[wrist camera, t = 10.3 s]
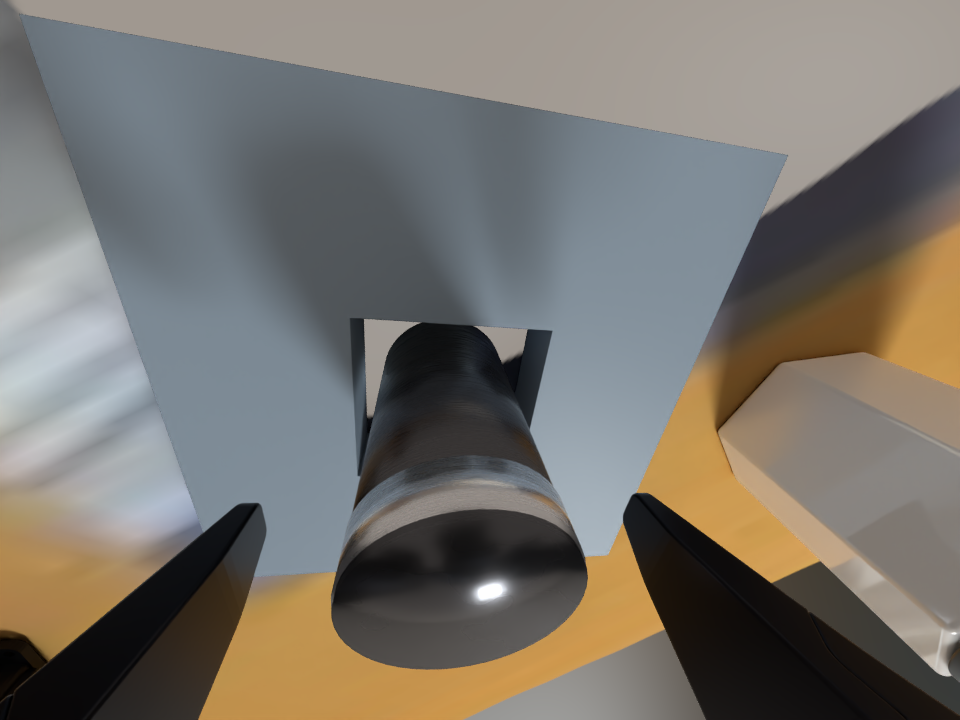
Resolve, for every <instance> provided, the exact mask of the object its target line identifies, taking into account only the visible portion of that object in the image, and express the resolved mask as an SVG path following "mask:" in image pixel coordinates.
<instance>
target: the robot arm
mask: <svg viewBox="0 0 960 720" xmlns="http://www.w3.org/2000/svg"><path fill="white" fill-rule="evenodd" d="M623 523H624V526H625V529H626V532H627V535H628V538H629V541H630V543H631V546H632V549H633V552H634V555H635V558H636V561H637V563H638V566H639V569H640V572H641V575H642V577H643V580H644V583H645V585H646V587H647V590H648V592H649V594H650V597H651V599H652V601H653V603H654V606H655V608H656V610H657V612H658V614H659V617H660V619H661V621H662V623H663V626H664V628H665V630H666V632H667V634H668V636H669V639H670V641H671V643H672V645H673V648H674V650H675V652H676V654H677V657H678V659H679V661H680V663H681V665H682V668H683V670H684V672H685V674H686V676H687V679H688V681H689V683H690V685H691V687H692V690H693V692H694V694H695V696H696V699H697V701H698V703H699V705H700V707H701V710H702V712H703V714H704V716H705V719H706V720H960V715H958V714H957V713H955V712H954V711H952V710H951V709H949V708H948V707H946V706H944V705H943V704H941V703H940V702H939V701H937V700H936V699H934V698H933V697H931V696H930V695H928V694H927V693H925V692H924V691H922V690H921V689H919V688H918V687H916V686H915V685H913V684H912V683H910V682H909V681H908V680H906V679H905V678H903V677H902V676H900V675H899V674H897V673H896V672H894V671H893V670H891V669H890V668H888V667H887V666H886V665H884V664H883V663H881V662H880V661H878V660H877V659H875V658H874V657H872V656H871V655H869V654H868V653H867V652H865V651H864V650H862V649H861V648H860V647H858V646H857V645H855V644H854V643H852V642H851V641H850V640H848V639H847V638H846V637H844V636H843V635H841V634H840V633H839V632H837V631H836V630H834V629H833V628H831V627H830V626H829V625H828V624H826V623H825V622H823V621H822V620H821V619H820V618H818V617H817V616H815V615H814V614H813V613H811V612H808V611H807V609H806V608H804V607H803V606H802V605H800V604H799V603H798V602H796V601H795V600H794V599H792V598H791V597H789V596H788V595H787V594H785V593H784V592H782V591H781V590H780V589H779V588H777V587H776V586H774V585H773V584H772V583H770V582H769V581H768V580H766V579H765V578H764V577H762V576H761V575H760V574H758V573H757V572H755V571H754V570H753V569H751V568H750V567H749V566H747V565H746V564H745V563H743V562H742V561H741V560H739V559H738V558H736V557H735V556H734V555H732V554H731V553H730V552H728V551H727V550H726V549H724V548H723V547H721V546H720V545H719V544H717V543H716V542H715V541H713V540H712V539H711V538H709V537H708V536H707V535H705V534H704V533H702V532H701V531H700V530H698V529H697V528H696V527H694V526H693V525H692V524H690V523H689V522H687V521H686V520H685V519H683V518H682V517H681V516H679V515H678V514H677V513H675V512H674V511H673V510H671V509H670V508H668V507H667V506H666V505H664V504H663V503H662V502H660V501H659V500H658V499H656V498H655V497H653V496H652V495H651V494H648V493H634V494H633V495H631V497H630V499H629V502H628V504H627V506H626V508H625V511H624V513H623ZM266 532H267V527H266V522H265V518H264V514H263V509H262V506H261V504H259V503H240V504H238V505H236V506H235V507H233V508H232V509H231V510H230V511H229V512H227V513H226V514H225V515H224V516H223V517H221V518H220V519H219V520H218V521H217V522H215V523H214V524H213V525H212V526H211V527H209V528H208V529H207V530H206V531H205V532H203V533H202V534H201V535H200V536H199V537H197V538H196V539H195V540H194V541H193V542H191V543H190V544H189V545H188V546H187V547H185V548H184V549H183V550H182V551H181V552H179V553H178V554H177V555H176V556H175V557H173V558H172V559H171V560H170V561H169V562H167V563H166V564H165V565H164V566H163V567H161V568H160V569H159V570H158V571H157V572H155V573H154V574H153V575H152V576H151V577H149V578H148V579H147V580H146V581H145V582H143V583H142V584H141V585H140V586H139V587H137V588H136V589H135V590H134V591H133V592H131V593H130V594H129V595H128V596H127V597H125V598H124V599H123V600H122V601H121V602H119V603H118V604H117V605H116V606H115V607H113V608H112V609H111V610H110V611H109V612H107V613H106V614H105V615H104V616H103V617H101V618H100V619H99V620H98V621H97V622H95V623H94V624H93V625H92V626H91V627H89V628H88V629H87V630H86V631H85V632H84V633H82V634H81V635H80V636H79V637H78V638H76V639H75V640H74V641H73V642H72V643H70V644H69V645H68V646H67V647H66V648H64V649H63V650H62V651H61V652H60V653H58V654H57V655H56V656H55V657H54V658H52V659H51V660H50V661H49V662H48V663H45V662H44V661H43V660H42V659H41V658H40V657H39V656H38V654H37V653H36V652H35V651H34V650H33V649H32V648H31V647H30V645H29V644H27V643H26V642H24V641H20V640H6V641H0V720H198V719H199V716H200V714H201V711H202V709H203V707H204V704H205V702H206V699H207V697H208V695H209V692H210V690H211V688H212V685H213V683H214V680H215V678H216V676H217V673H218V671H219V668H220V666H221V664H222V661H223V659H224V656H225V654H226V652H227V649H228V647H229V645H230V642H231V640H232V637H233V635H234V633H235V630H236V628H237V625H238V623H239V620H240V618H241V615H242V612H243V609H244V606H245V603H246V600H247V597H248V593H249V590H250V587H251V584H252V580H253V577H254V574H255V571H256V567H257V564H258V561H259V558H260V554H261V551H262V548H263V545H264V542H265V538H266Z"/></svg>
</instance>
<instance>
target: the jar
mask: <svg viewBox="0 0 960 720" xmlns="http://www.w3.org/2000/svg"><path fill="white" fill-rule="evenodd" d="M718 435H719V437H720V440H721V442H722V445H723V448H724V450H725V453H726V455H727V458H728V461H729V463H730V466H731V468H732V471H733V473H734V476H735V478H736V480H737V481H738V482H739V483H740V484H741V485H742V486H743V487H745V488H746V489H747V490H748V491H749V492H750V493H751V494H752V495H753V496H754V497H755V498H756V499H757V500H758V501H759V502H760V503H761V504H762V505H763V506H764V507H765V508H766V509H767V510H768V511H769V512H770V513H772V514H773V515H774V516H775V517H776V518H777V519H778V520H779V521H780V522H781V523H782V524H783V525H784V526H785V527H786V528H787V529H788V530H789V531H790V532H791V533H792V534H793V535H794V536H795V537H796V538H797V539H799V540H800V541H801V542H802V543H803V544H804V545H805V546H806V547H807V548H808V549H809V550H810V551H811V552H812V553H813V554H814V555H815V556H816V557H817V558H818V559H819V560H820V561H821V562H823V564H825V565H826V566H827V567H828V568H829V569H830V570H831V571H832V572H833V573H834V574H835V575H836V576H837V577H838V578H839V579H840V580H841V581H842V582H843V583H844V584H845V585H846V586H847V587H849V589H851V591H853V592H854V593H855V594H856V595H857V596H858V597H859V598H860V599H861V600H862V601H863V602H864V603H865V604H866V605H867V606H868V607H869V608H870V609H871V610H872V611H873V612H874V613H875V614H876V615H877V616H879V617H880V618H881V619H882V620H883V621H884V622H885V623H886V624H887V625H888V626H889V627H890V628H891V629H892V630H893V631H894V632H895V633H896V634H897V635H898V636H899V637H900V638H901V639H902V640H903V641H904V642H905V643H907V644H908V645H909V646H910V647H911V648H912V649H913V650H914V651H915V652H916V653H917V654H918V655H919V656H920V657H921V658H922V659H923V660H924V661H925V662H926V663H927V664H928V665H929V666H930V667H931V668H933V669H934V670H935V671H936V672H937V673H939V674H941V675H943V676H953V677H955V678H956V679H957V680H958V681H959V682H960V389H958V388H956V387H953V386H951V385H948V384H945V383H943V382H940V381H938V380H935V379H933V378H930V377H927V376H925V375H922V374H920V373H917V372H915V371H912V370H910V369H907V368H904V367H902V366H899V365H897V364H894V363H892V362H889V361H886V360H884V359H881V358H879V357H876V356H874V355H871V354H869V353H865V352H858V353H851V354H843V355H836V356H828V357H821V358H813V359H805V360H798V361H790V362H783V363H780V364H779V365H778V366H777V367H776V368H775V369H774V370H773V371H772V373H771V374H770V375H769V376H768V377H767V378H766V379H765V380H764V381H763V382H762V384H761V385H760V386H759V387H758V388H757V389H756V390H755V391H754V392H753V393H752V394H751V395H750V397H749V398H748V399H747V400H746V401H745V402H744V403H743V404H742V405H741V406H740V407H739V408H738V410H737V411H736V412H735V413H734V414H733V415H732V416H731V417H730V418H729V419H728V420H727V421H726V423H725V424H724V425H723V426H722V427H721V428H720V429H719V431H718Z"/></svg>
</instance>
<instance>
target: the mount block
mask: <svg viewBox="0 0 960 720" xmlns="http://www.w3.org/2000/svg"><path fill="white" fill-rule="evenodd" d="M19 15H20V18H21V21H22V24H23V27H24V30H25V32H26V35H27V38H28V41H29V44H30V46H31V49H32V52H33V55H34V58H35V60H36V63H37V66H38V69H39V72H40V75H41V77H42V80H43V83H44V86H45V89H46V91H47V94H48V97H49V100H50V103H51V105H52V108H53V111H54V114H55V117H56V120H57V122H58V125H59V128H60V131H61V134H62V136H63V139H64V142H65V145H66V148H67V150H68V153H69V156H70V159H71V162H72V165H73V167H74V170H75V173H76V176H77V179H78V181H79V184H80V187H81V190H82V193H83V195H84V198H85V201H86V204H87V207H88V210H89V212H90V215H91V218H92V221H93V224H94V226H95V229H96V232H97V235H98V238H99V240H100V243H101V246H102V249H103V252H104V255H105V257H106V260H107V263H108V266H109V269H110V271H111V274H112V277H113V280H114V283H115V285H116V288H117V291H118V294H119V297H120V300H121V302H122V305H123V308H124V311H125V314H126V316H127V319H128V322H129V325H130V328H131V330H132V333H133V336H134V339H135V342H136V345H137V347H138V350H139V353H140V356H141V359H142V361H143V364H144V367H145V370H146V373H147V375H148V378H149V381H150V384H151V387H152V390H153V392H154V395H155V398H156V401H157V404H158V406H159V409H160V412H161V415H162V418H163V420H164V423H165V426H166V429H167V432H168V435H169V437H170V440H171V443H172V446H173V449H174V451H175V454H176V457H177V460H178V463H179V465H180V468H181V471H182V474H183V477H184V480H185V482H186V485H187V488H188V491H189V494H190V496H191V499H192V502H193V505H194V508H195V510H196V513H197V516H198V519H199V522H200V525H201V527H202V530H203V532H205V531H206V530H207V529H208V528H209V527H211V526H212V525H213V524H214V523H215V522H217V521H218V520H219V519H220V518H221V517H223V516H224V515H225V514H226V513H227V512H229V511H230V510H231V509H232V508H233V507H235V506H236V505H238V504H240V503H259V504H261V506H262V509H263V514H264V518H265V522H266V527H267V532H266V538H265V542H264V545H263V548H262V551H261V554H260V558H259V561H258V564H257V567H256V571H255V574H254V577H259V576H275V575H292V574H308V573H324V572H337V567H338V563H339V558H340V554H341V550H342V545H343V541H344V536H345V532H346V528H347V524H348V521H349V519H350V517H351V515H352V512H353V507H354V503H355V498H356V493H357V489H358V484H359V480H360V475H361V471H362V466H363V462H364V457H365V453H366V448H367V443H368V439H369V434H367V407H366V378H365V377H366V375H365V342H364V319H377V320H394V321H409V322H424V323H440V324H456V325H471V326H487V327H503V328H518V329H528V330H527V336H526V341H525V346H524V351H523V356H522V361H521V366H520V371H519V376H518V381H517V386H516V391H515V396H516V398H517V401H518V403H519V406H520V408H521V410H522V413H523V415H524V418H525V420H526V422H527V425H528V427H529V430H530V432H531V434H532V437H533V439H534V441H535V444H536V446H537V449H538V451H539V453H540V456H541V458H542V461H543V463H544V465H545V468H546V470H547V473H548V475H549V477H550V480H551V482H552V485H553V487H554V488H555V489H556V491H557V492H558V494H559V496H560V498H561V500H562V502H563V505H564V507H565V509H566V512H567V514H568V517H569V519H570V521H571V524H572V526H573V528H574V531H575V533H576V535H577V538H578V540H579V542H580V545H581V547H582V550H583V553H584V556H585V557H586V556H603V555H608V554H609V551H610V549H611V547H612V545H613V543H614V540H615V538H616V536H617V534H618V531H619V529H620V527H621V525H622V523H623V513H624V511H625V508H626V506H627V504H628V502H629V499H630V497H631V495H633V494H634V493H636V492H637V489H638V487H639V485H640V483H641V480H642V478H643V476H644V474H645V472H646V469H647V467H648V465H649V463H650V461H651V458H652V456H653V454H654V452H655V449H656V447H657V445H658V443H659V441H660V438H661V436H662V434H663V432H664V429H665V427H666V425H667V423H668V421H669V418H670V416H671V414H672V412H673V410H674V407H675V405H676V403H677V401H678V398H679V396H680V394H681V392H682V390H683V387H684V385H685V383H686V381H687V378H688V376H689V374H690V372H691V370H692V367H693V365H694V363H695V361H696V359H697V356H698V354H699V352H700V350H701V347H702V345H703V343H704V341H705V339H706V336H707V334H708V332H709V330H710V327H711V325H712V323H713V321H714V319H715V316H716V314H717V312H718V310H719V308H720V305H721V303H722V301H723V299H724V296H725V294H726V292H727V290H728V288H729V285H730V283H731V281H732V279H733V276H734V274H735V272H736V270H737V268H738V265H739V263H740V261H741V259H742V256H743V254H744V252H745V250H746V248H747V245H748V243H749V241H750V239H751V237H752V234H753V232H754V230H755V228H756V225H757V223H758V221H759V219H760V217H761V214H762V212H763V210H764V208H765V205H766V203H767V201H768V199H769V197H770V194H771V192H772V190H773V188H774V185H775V183H776V181H777V179H778V177H779V174H780V172H781V170H782V168H783V166H784V163H785V161H786V159H787V156H788V155H784V154H779V153H773V152H768V151H763V150H757V149H752V148H746V147H740V146H735V145H730V144H725V143H719V142H714V141H708V140H702V139H697V138H692V137H686V136H681V135H676V134H670V133H665V132H659V131H653V130H648V129H643V128H638V127H632V126H627V125H621V124H616V123H610V122H605V121H599V120H594V119H589V118H583V117H578V116H572V115H567V114H561V113H556V112H550V111H545V110H540V109H534V108H529V107H523V106H518V105H512V104H507V103H501V102H495V101H490V100H485V99H480V98H474V97H469V96H463V95H458V94H453V93H447V92H442V91H436V90H431V89H425V88H419V87H415V86H409V85H403V84H398V83H393V82H387V81H381V80H377V79H371V78H365V77H360V76H354V75H349V74H344V73H338V72H333V71H328V70H322V69H317V68H311V67H306V66H300V65H295V64H289V63H284V62H279V61H273V60H268V59H262V58H257V57H251V56H246V55H241V54H235V53H230V52H224V51H219V50H213V49H208V48H202V47H197V46H192V45H186V44H180V43H175V42H170V41H164V40H159V39H153V38H148V37H142V36H137V35H132V34H126V33H121V32H115V31H110V30H104V29H99V28H94V27H88V26H83V25H77V24H72V23H67V22H61V21H56V20H50V19H45V18H39V17H34V16H28V15H23V14H19Z"/></svg>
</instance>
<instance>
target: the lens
mask: <svg viewBox="0 0 960 720" xmlns="http://www.w3.org/2000/svg"><path fill="white" fill-rule="evenodd" d="M587 580H588V575H587V567H586V562H585V556H584V553H583V550H582V547H581V545H580V542H579V540H578V538H577V535H576V533H575V531H574V528H573V526H572V524H571V521H570V519H569V517H568V514H567V512H566V509H565V507H564V505H563V502H562V500H561V498H560V496H559V494H558V492H557V491H556V489H555V488H554V487H553V485H552V482H551V480H550V477H549V475H548V473H547V470H546V468H545V465H544V463H543V461H542V458H541V456H540V453H539V451H538V449H537V446H536V444H535V441H534V439H533V437H532V434H531V432H530V430H529V427H528V425H527V422H526V420H525V418H524V415H523V413H522V410H521V408H520V406H519V403H518V401H517V398H516V396H515V394H514V391H513V389H512V387H511V384H510V382H509V379H508V377H507V375H506V372H505V370H504V367H503V365H502V363H501V360H500V358H499V356H498V353H497V351H496V349H495V347H494V345H493V343H492V342H491V340H490V339H489V338H488V337H487V336H486V335H485V334H484V333H483V332H481V331H480V330H479V329H478V328H476V327H474V326H471V325H456V324H440V323H424V322H422V323H420V324H417V325H415V326H413V327H411V328H409V329H408V330H407V331H405V332H404V333H403V334H402V335H400V337H398V339H397V340H396V341H395V342H394V343H393V345H392V347H391V348H390V350H389V352H388V355H387V357H386V362H385V366H384V371H383V375H382V380H381V384H380V389H379V393H378V398H377V403H376V407H375V412H374V416H373V421H372V425H371V430H370V434H369V439H368V443H367V448H366V453H365V457H364V462H363V466H362V471H361V475H360V480H359V484H358V489H357V493H356V498H355V503H354V507H353V512H352V515H351V517H350V519H349V521H348V524H347V528H346V532H345V536H344V541H343V545H342V550H341V554H340V558H339V563H338V567H337V572H336V576H335V581H334V585H333V589H332V594H331V615H332V621H333V625H334V628H335V630H336V632H337V634H338V636H339V637H340V638H341V639H342V640H343V641H344V643H345V644H346V645H348V646H349V647H350V648H351V649H353V650H354V651H356V652H357V653H359V654H361V655H362V656H364V657H367V658H369V659H371V660H374V661H377V662H380V663H383V664H386V665H391V666H396V667H402V668H410V669H449V668H458V667H465V666H471V665H475V664H480V663H484V662H488V661H492V660H495V659H498V658H501V657H504V656H507V655H510V654H512V653H515V652H517V651H519V650H522V649H524V648H526V647H528V646H530V645H532V644H534V643H536V642H537V641H539V640H541V639H542V638H544V637H546V636H547V635H549V634H550V633H551V632H553V631H554V630H556V629H557V628H558V627H559V626H560V625H561V624H563V623H564V622H565V621H566V620H567V619H568V618H569V617H570V615H571V614H572V613H573V612H574V611H575V609H576V608H577V607H578V605H579V603H580V602H581V600H582V598H583V596H584V593H585V590H586V587H587Z"/></svg>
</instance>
